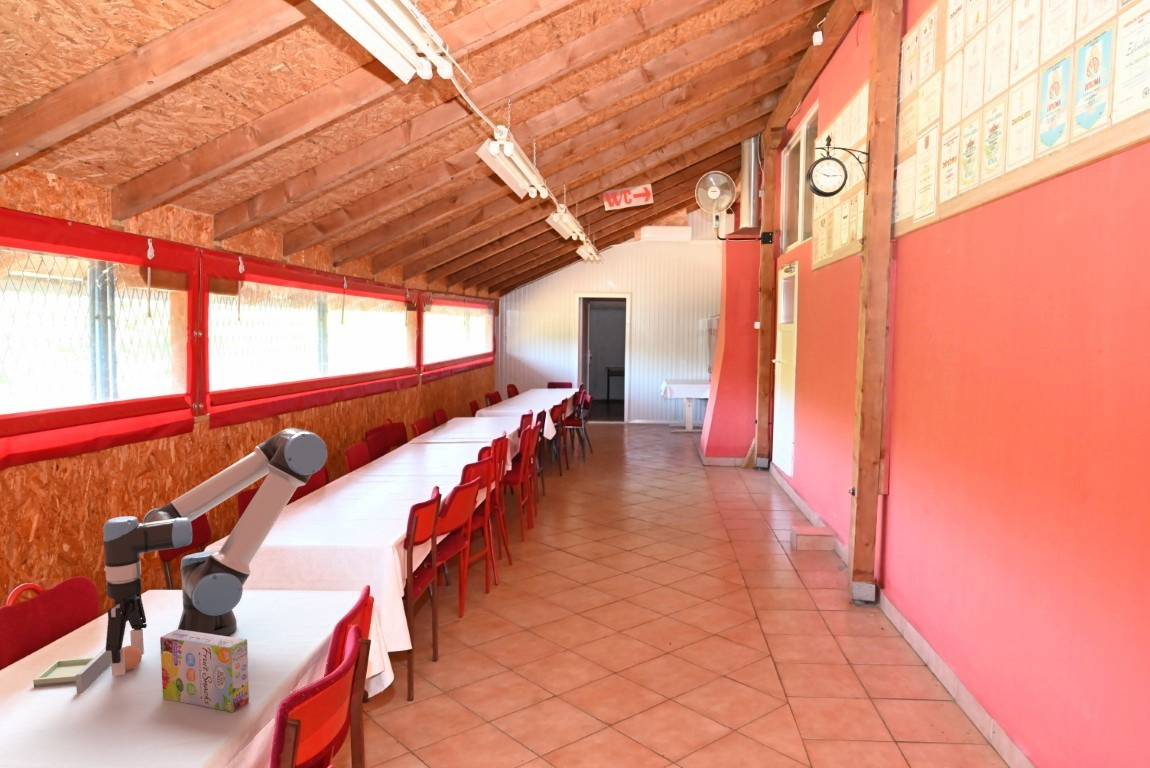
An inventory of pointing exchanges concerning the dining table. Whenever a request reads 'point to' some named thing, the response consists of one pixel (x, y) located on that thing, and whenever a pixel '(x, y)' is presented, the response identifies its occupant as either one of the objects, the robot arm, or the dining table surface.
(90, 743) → the dining table surface
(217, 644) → the snack box
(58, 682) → the tray
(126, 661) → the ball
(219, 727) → the dining table surface
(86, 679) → the divider wall
